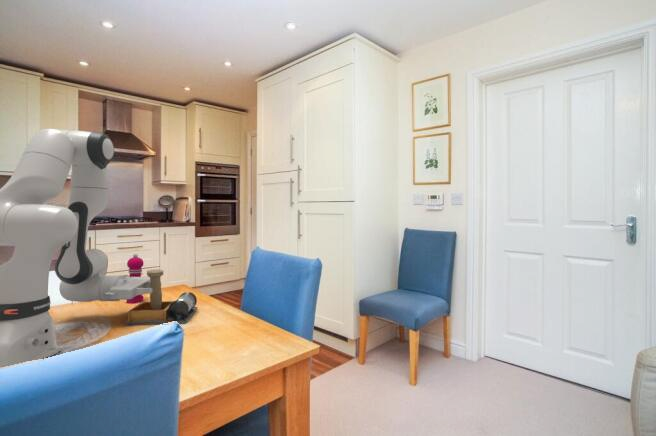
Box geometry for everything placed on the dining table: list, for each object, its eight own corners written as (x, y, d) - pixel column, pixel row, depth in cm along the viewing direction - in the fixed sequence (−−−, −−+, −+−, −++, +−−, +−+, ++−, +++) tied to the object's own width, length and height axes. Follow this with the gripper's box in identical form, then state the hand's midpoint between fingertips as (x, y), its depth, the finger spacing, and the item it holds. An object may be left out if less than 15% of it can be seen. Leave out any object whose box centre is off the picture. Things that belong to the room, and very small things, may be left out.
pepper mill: (138, 303, 142) (139, 254, 141) (121, 303, 142) (121, 254, 142) (148, 299, 149) (148, 252, 149) (131, 299, 149) (132, 252, 149)
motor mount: (186, 323, 117) (186, 302, 117) (124, 325, 114) (124, 303, 114) (198, 309, 135) (198, 290, 135) (144, 310, 132) (145, 291, 132)
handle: (154, 315, 123) (153, 273, 122) (145, 311, 127) (143, 271, 126) (167, 311, 127) (166, 270, 126) (158, 308, 131) (156, 268, 130)
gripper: (99, 285, 112) (146, 284, 114) (126, 274, 132) (165, 274, 134) (99, 305, 112) (145, 303, 114) (126, 291, 132) (165, 290, 134)
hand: (156, 287), depth 124 cm, fingers open, 8 cm apart
